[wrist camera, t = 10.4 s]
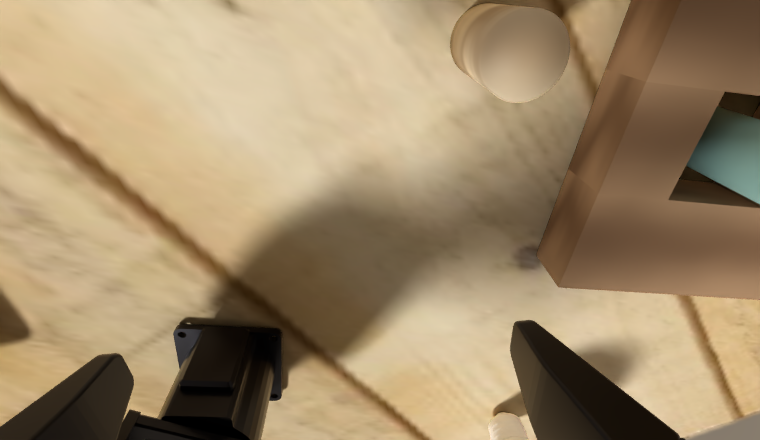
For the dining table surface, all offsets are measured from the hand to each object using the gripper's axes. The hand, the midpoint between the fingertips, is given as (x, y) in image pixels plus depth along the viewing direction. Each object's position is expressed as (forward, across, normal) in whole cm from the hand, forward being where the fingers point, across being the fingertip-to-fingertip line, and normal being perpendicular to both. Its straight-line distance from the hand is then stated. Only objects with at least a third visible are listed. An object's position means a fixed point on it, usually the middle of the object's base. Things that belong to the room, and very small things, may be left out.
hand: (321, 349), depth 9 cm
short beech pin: (+12, -7, -5) cm, 15 cm away
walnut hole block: (+12, -18, 0) cm, 22 cm away
